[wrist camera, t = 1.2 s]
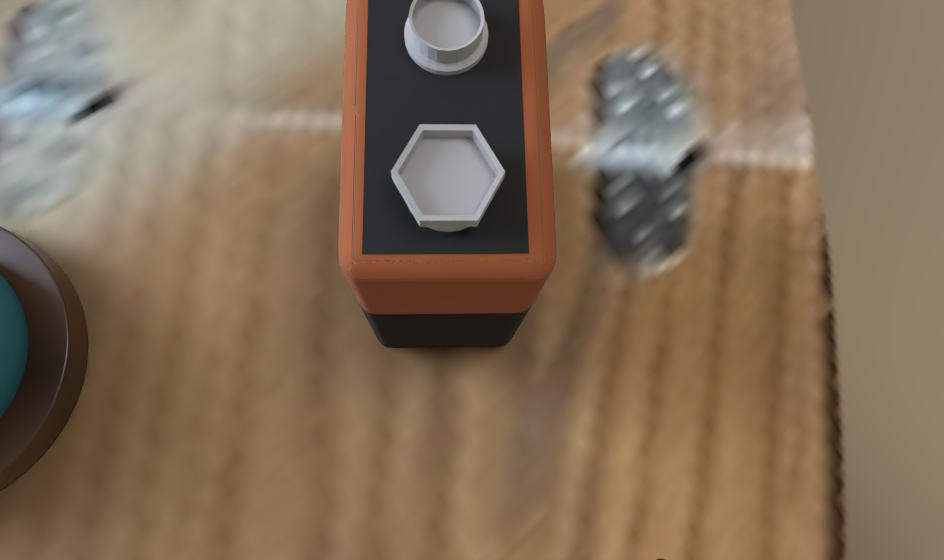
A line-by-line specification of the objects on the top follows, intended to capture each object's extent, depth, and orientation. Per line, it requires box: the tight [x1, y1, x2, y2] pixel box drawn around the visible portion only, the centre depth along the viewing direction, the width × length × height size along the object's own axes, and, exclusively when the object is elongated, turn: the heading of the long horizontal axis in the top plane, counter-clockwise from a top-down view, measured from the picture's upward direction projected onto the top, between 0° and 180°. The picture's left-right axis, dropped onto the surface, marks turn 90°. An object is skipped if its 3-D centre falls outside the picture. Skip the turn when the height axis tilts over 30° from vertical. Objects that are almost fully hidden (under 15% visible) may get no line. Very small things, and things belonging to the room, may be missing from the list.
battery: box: [338, 0, 556, 348], centre depth 18 cm, size 4×7×10 cm, turn 1°
